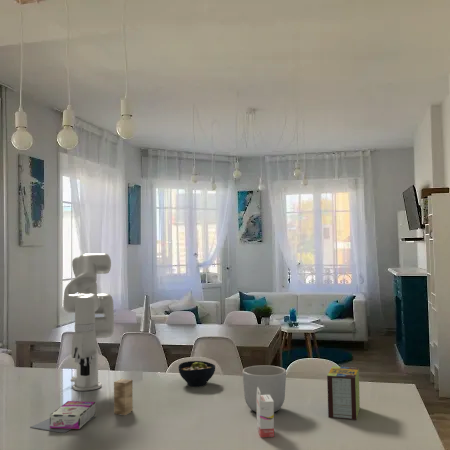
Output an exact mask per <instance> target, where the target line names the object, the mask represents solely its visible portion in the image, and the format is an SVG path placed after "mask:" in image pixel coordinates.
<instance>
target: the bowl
mask: <svg viewBox="0 0 450 450" xmlns="http://www.w3.org/2000/svg"><path fill="white" fill-rule="evenodd" d="M177 367H178V373H179V375H180V377H181V378H182V379H183V380H184V381H185V382H186V384H187V386H189V387H194V388H198V387H199V388H200V387H204V386H206V385H207V383H208V382H209V381H210V380H211V378H212V377H213V376H214V374H215V372H216V365H215V364H214V363H212V362H207V361H202V360H201V361H200V360H189V361H183V362H182V363H180V364H178V366H177Z"/></svg>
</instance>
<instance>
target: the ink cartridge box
mask: <svg viewBox="0 0 450 450" xmlns="http://www.w3.org/2000/svg"><path fill="white" fill-rule="evenodd" d="M258 392H259V394H258ZM274 415H275V412H274V401H273V399H272V398H271V396H270V395H261V392H260V390H259V388H258V387H257V412H256V430H257V432H258V435H259V436H260V437H259V438H274V437H275V416H274Z"/></svg>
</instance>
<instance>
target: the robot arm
mask: <svg viewBox="0 0 450 450" xmlns="http://www.w3.org/2000/svg"><path fill="white" fill-rule="evenodd" d="M71 263H72V264H71V265H72V266H71V267H72V272H73V275H74V278H73V279H72V280H70V281H69V282H68V283H67V285H66V287H65V288H64V290H63V292H64V293H63V300H62V301H63V302H62V304H63V306H62V307H63V309H64V311H65V312H66V313H68V314H74V332H73V335H72V342H71V358H72V359H74V363H76V376H71V378H70V382H72V383H74V384H73V385H72V387H73V388H72V389H73V390H75V391H80V392H82V391H83V392H85V391H86V392H88V391H92V390H93V391H94V390H98V389H100V388H101V387H102V385H103V384H102V382H101V381H99V347H98V343H97V342H98V341H97V339H106V338H112V336H113V335H114V332H115V321H114V320H115V318H114V317H115V316H114V315H115V314H114V313H115V311H114V299H113V296H112V295H111V294H109V293H98V284H97V275H107V274H109V273H110V272H111V267H112V260H111V257H110V255H109V254H107V253H100V252H99V253H96V252H95V253H94V252H93V253H92V252H91V253H83V254H81V255H79V256H77V257H74V258H73V259H72V262H71ZM96 315H102V316H96Z"/></svg>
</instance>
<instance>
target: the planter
mask: <svg viewBox="0 0 450 450" xmlns="http://www.w3.org/2000/svg"><path fill="white" fill-rule="evenodd" d="M286 378H287V370H286V368H283V367H280V366H278V365H277V366H275V365H266V364H265V365H263V364H262V365H252V366H248V367H247V366H246V367H244V368H243V369H242V383H243V395H244V401H245V404H246V405H247V407H248V408H249V409H250V410H251V411H252V412H255V413H257V387H258V388H259V390H260V392H261V395H270V396H271V398H272V399H273V401H274V413H276V412H277V411H279V410H280V409H281V408H282V407H283V405H284V403H285V398H286V381H287V379H286ZM258 394H259V392H258Z"/></svg>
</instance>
